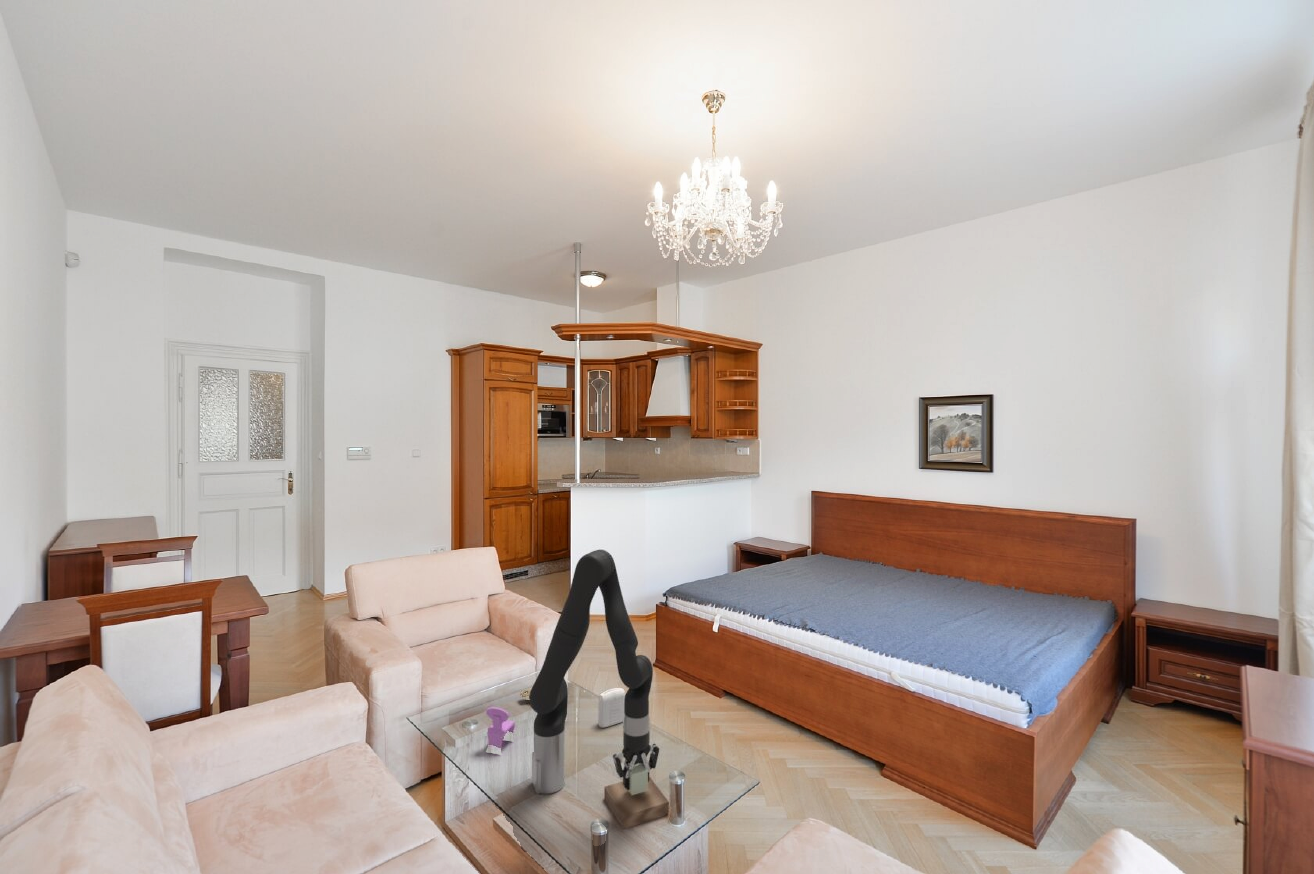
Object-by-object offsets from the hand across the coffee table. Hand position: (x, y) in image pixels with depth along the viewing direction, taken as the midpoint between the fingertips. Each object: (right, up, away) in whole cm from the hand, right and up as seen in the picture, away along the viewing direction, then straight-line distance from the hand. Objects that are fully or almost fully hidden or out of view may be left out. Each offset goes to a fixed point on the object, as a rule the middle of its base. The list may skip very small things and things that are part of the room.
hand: (636, 785), depth 169 cm
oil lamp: (-39, -3, +59) cm, 71 cm away
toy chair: (-47, -5, +29) cm, 55 cm away
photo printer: (-10, -4, +45) cm, 47 cm away
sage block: (0, -1, 0) cm, 1 cm away
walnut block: (0, -7, 0) cm, 7 cm away
